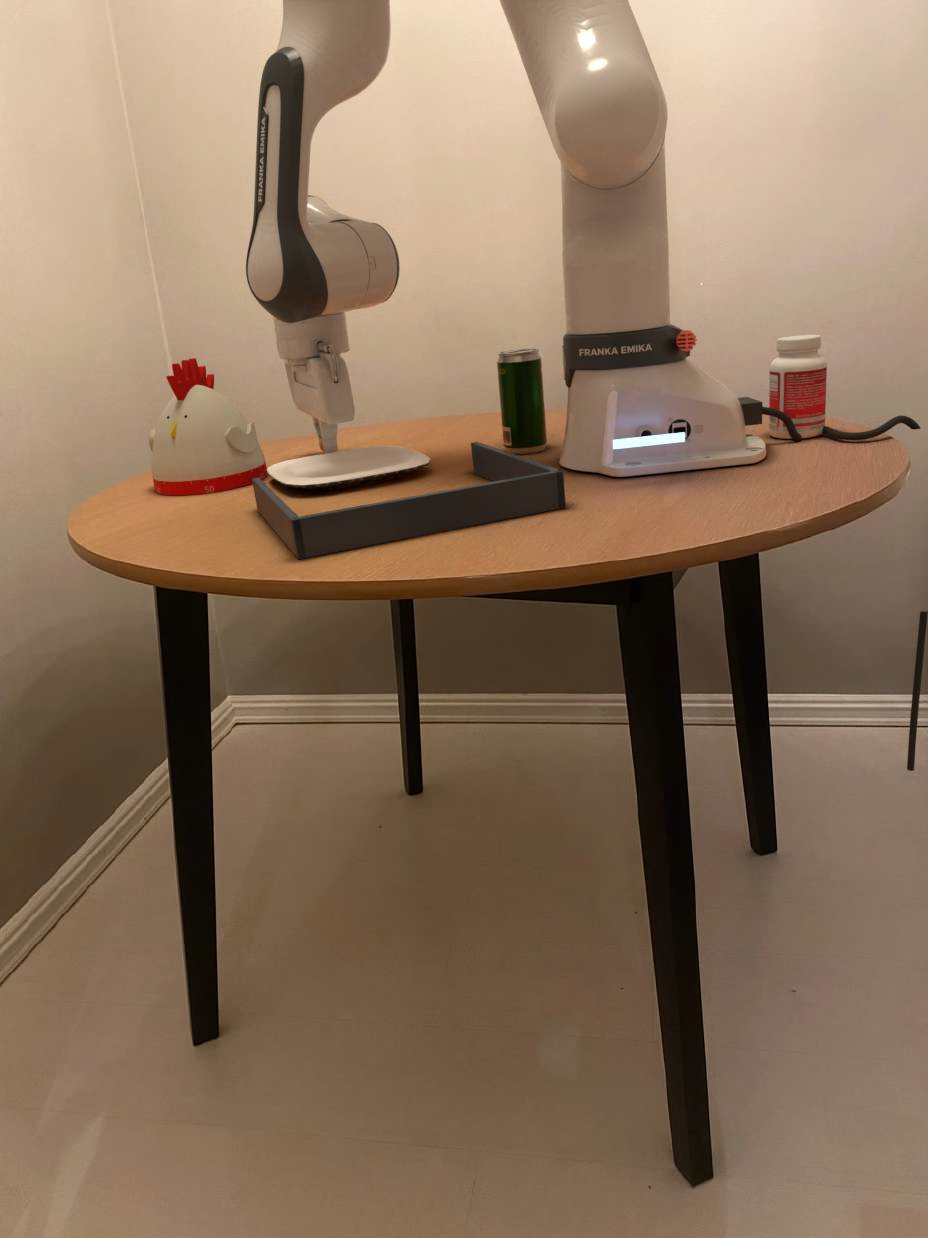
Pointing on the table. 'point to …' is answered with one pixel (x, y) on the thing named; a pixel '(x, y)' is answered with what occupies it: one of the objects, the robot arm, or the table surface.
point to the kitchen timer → (202, 439)
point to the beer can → (522, 401)
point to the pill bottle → (798, 386)
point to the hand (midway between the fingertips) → (329, 451)
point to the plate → (348, 467)
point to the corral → (421, 507)
